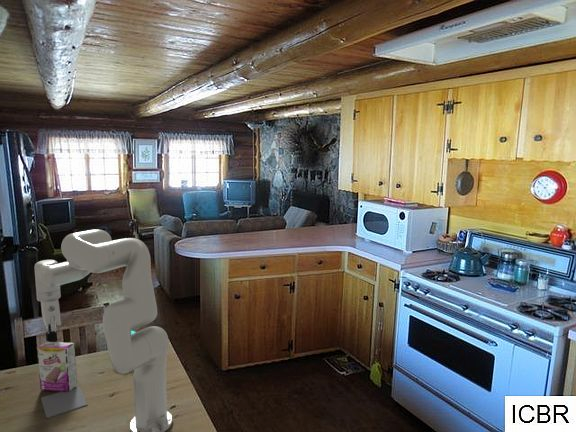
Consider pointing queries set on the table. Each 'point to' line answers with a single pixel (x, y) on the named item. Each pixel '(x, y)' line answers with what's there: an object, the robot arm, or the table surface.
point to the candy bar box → (57, 366)
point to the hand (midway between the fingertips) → (52, 341)
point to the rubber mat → (63, 402)
